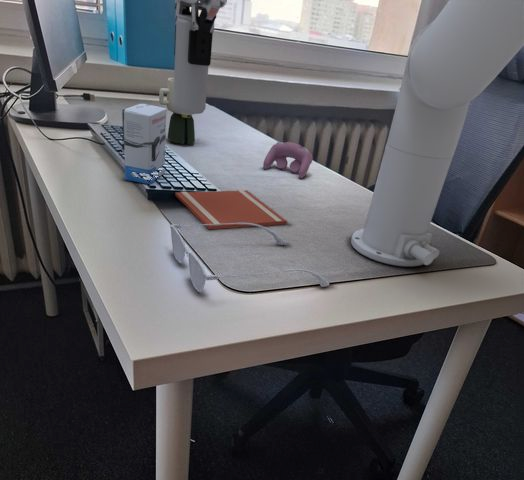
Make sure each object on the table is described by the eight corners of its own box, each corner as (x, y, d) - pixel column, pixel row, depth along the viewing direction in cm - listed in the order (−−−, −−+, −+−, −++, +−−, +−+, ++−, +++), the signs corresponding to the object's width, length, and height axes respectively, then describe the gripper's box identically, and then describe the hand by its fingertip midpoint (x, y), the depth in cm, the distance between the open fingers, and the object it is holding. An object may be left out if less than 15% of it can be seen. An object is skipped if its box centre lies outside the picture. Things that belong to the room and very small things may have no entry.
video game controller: (307, 183, 111) (317, 151, 110) (302, 177, 107) (313, 144, 106) (266, 172, 114) (276, 140, 113) (260, 166, 110) (270, 133, 109)
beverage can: (167, 106, 77) (170, 12, 70) (193, 106, 80) (199, 16, 73) (184, 114, 74) (189, 17, 68) (211, 114, 77) (218, 21, 70)
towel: (286, 224, 85) (287, 220, 85) (208, 229, 79) (209, 225, 78) (246, 193, 95) (247, 189, 95) (175, 195, 89) (175, 191, 89)
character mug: (163, 146, 114) (164, 82, 107) (153, 137, 119) (154, 75, 112) (208, 147, 119) (213, 85, 112) (197, 139, 124) (201, 79, 117)
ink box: (149, 185, 92) (150, 114, 85) (123, 180, 92) (122, 109, 85) (166, 173, 99) (168, 107, 92) (141, 168, 99) (142, 102, 92)
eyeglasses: (167, 247, 71) (168, 220, 69) (282, 242, 78) (286, 217, 76) (203, 303, 60) (205, 272, 58) (332, 290, 67) (339, 262, 65)
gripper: (258, -102, 59) (240, 74, 69) (204, -96, 71) (195, 54, 81) (197, -119, 56) (187, 69, 66) (151, -109, 67) (148, 49, 78)
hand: (191, 59), depth 73 cm, fingers closed on beverage can, 4 cm apart
